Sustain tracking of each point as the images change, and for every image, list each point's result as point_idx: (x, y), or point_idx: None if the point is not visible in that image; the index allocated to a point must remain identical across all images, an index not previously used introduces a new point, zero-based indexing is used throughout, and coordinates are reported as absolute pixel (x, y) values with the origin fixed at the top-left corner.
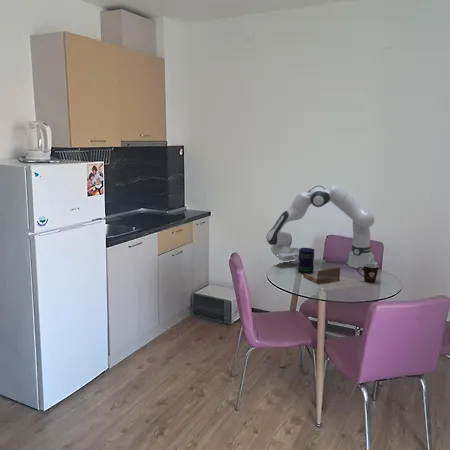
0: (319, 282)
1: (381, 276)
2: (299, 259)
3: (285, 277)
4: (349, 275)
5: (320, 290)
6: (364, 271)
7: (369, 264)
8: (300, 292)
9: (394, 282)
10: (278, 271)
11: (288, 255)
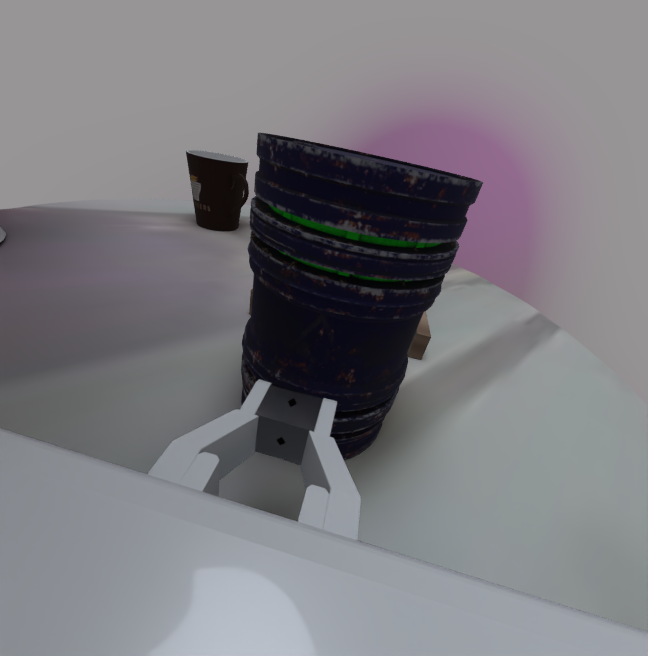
0: None
1: (123, 209)
2: (418, 322)
3: (561, 432)
4: (185, 254)
5: (446, 281)
6: (236, 189)
7: (192, 157)
8: (533, 308)
9: (179, 201)
10: None
11: (511, 593)
